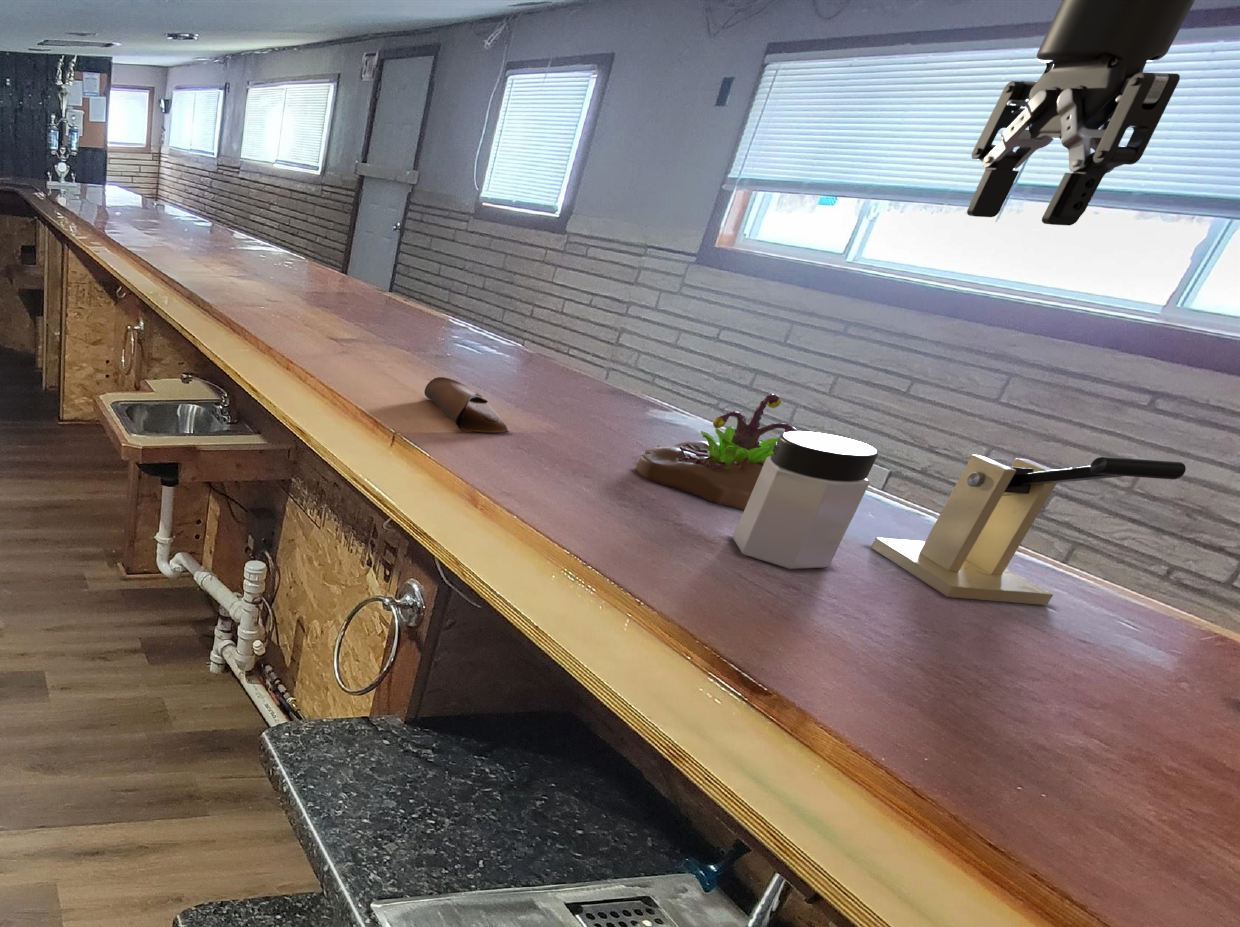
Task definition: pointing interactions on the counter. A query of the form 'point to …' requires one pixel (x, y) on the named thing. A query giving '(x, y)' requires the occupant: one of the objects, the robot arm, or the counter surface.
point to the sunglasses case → (464, 406)
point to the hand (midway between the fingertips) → (1016, 220)
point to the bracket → (977, 537)
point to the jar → (804, 499)
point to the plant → (716, 459)
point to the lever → (1095, 473)
